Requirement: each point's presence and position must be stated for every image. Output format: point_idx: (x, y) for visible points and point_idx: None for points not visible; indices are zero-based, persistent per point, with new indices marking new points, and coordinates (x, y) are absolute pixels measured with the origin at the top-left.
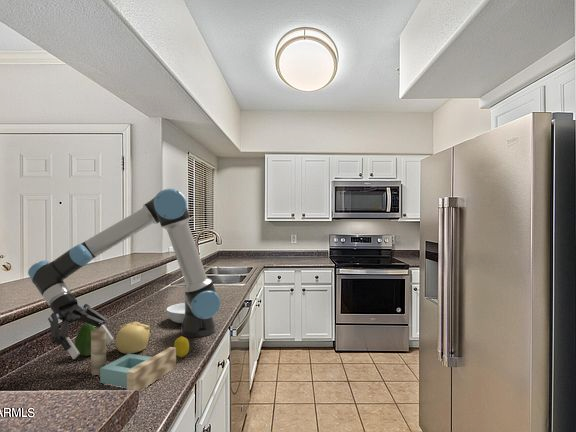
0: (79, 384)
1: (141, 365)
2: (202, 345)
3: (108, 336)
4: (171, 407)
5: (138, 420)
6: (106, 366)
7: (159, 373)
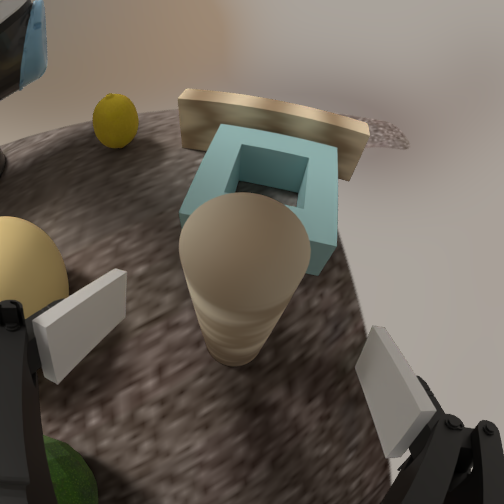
0: (335, 345)
1: (325, 117)
2: (56, 140)
3: (110, 293)
4: (350, 115)
5: (399, 144)
6: (317, 232)
7: None
